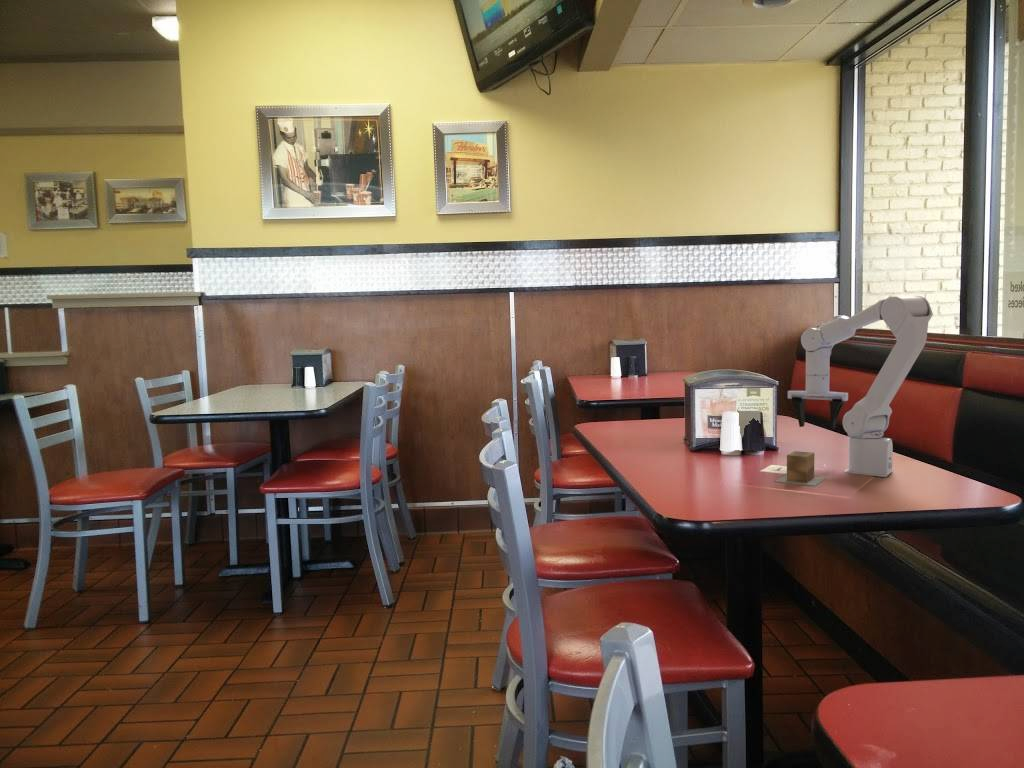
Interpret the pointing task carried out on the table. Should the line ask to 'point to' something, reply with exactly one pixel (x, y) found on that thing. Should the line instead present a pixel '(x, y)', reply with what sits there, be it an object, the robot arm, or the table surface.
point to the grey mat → (812, 482)
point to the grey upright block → (747, 417)
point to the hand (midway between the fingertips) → (817, 427)
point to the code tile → (776, 469)
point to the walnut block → (800, 466)
